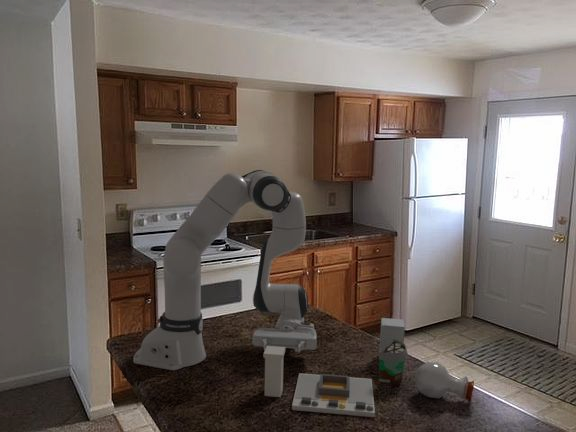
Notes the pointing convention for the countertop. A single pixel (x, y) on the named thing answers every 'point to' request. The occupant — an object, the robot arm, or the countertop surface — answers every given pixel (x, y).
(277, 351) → the plug
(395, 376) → the food container
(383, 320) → the supplement box
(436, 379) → the potion bottle
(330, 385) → the board
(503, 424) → the countertop surface
